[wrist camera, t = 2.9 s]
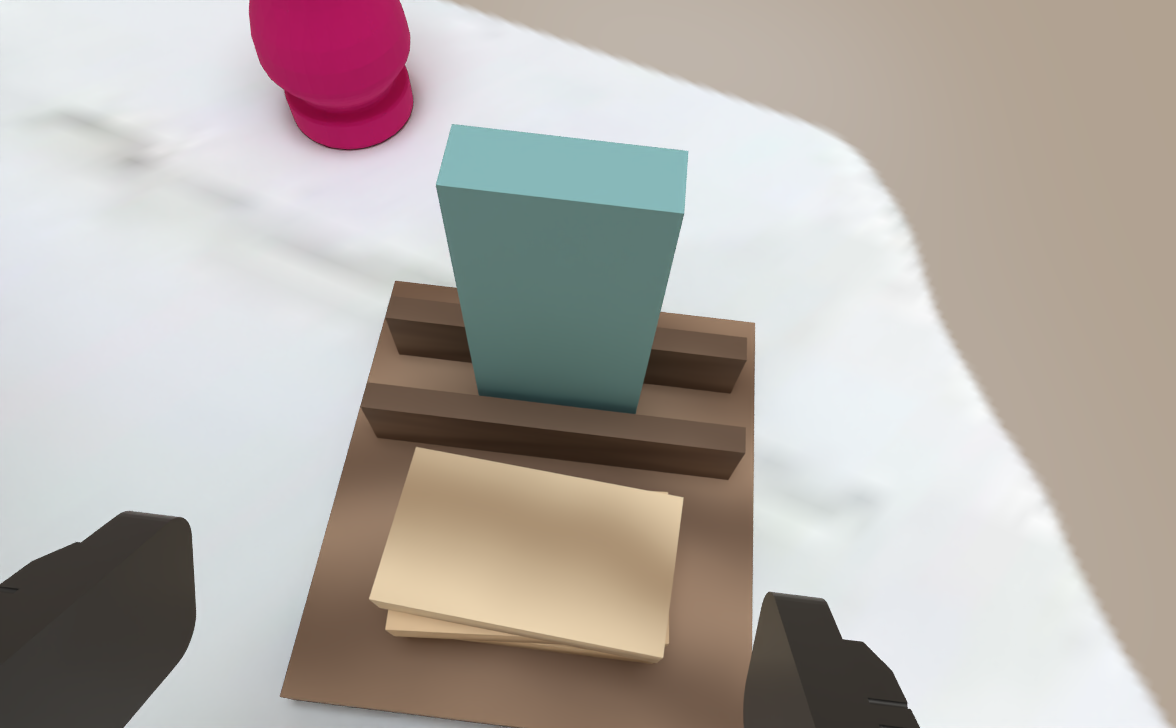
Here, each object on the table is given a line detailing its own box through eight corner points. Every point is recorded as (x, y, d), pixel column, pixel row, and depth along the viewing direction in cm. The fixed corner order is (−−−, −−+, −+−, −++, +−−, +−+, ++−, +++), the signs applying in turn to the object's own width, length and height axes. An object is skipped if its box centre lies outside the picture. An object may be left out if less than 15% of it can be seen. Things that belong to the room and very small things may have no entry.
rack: (740, 756, 27) (774, 755, 23) (293, 699, 27) (247, 689, 23) (747, 339, 34) (772, 285, 30) (401, 298, 35) (381, 239, 31)
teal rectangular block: (630, 435, 30) (684, 213, 18) (483, 417, 30) (436, 184, 18) (634, 390, 31) (688, 150, 19) (491, 373, 31) (451, 124, 19)
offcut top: (657, 663, 24) (663, 657, 22) (378, 608, 24) (368, 599, 23) (676, 510, 26) (683, 497, 25) (423, 462, 26) (416, 446, 25)
